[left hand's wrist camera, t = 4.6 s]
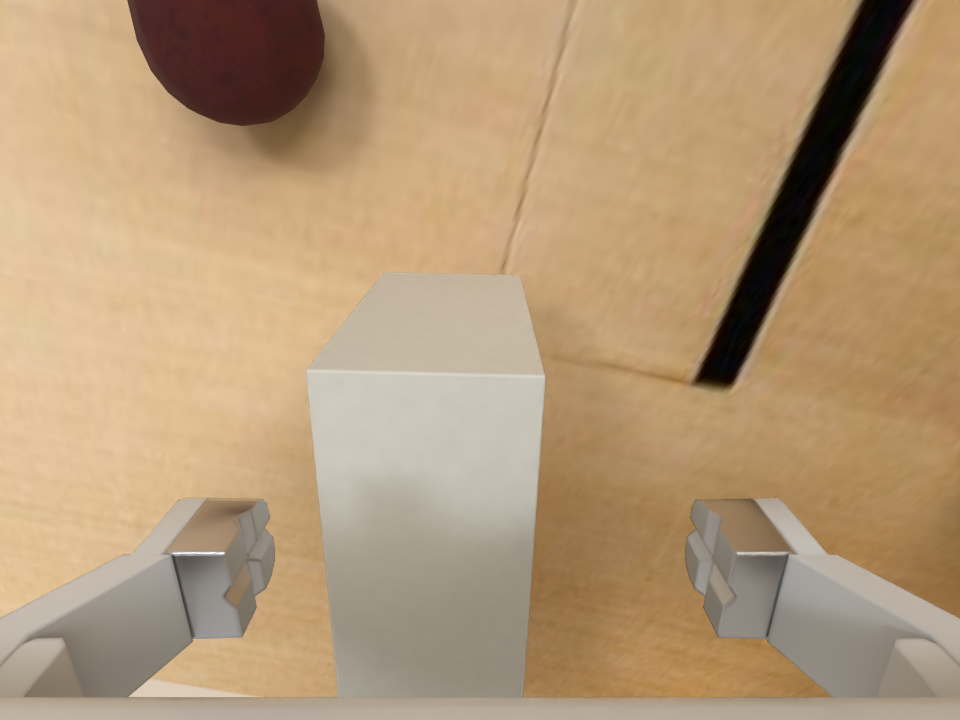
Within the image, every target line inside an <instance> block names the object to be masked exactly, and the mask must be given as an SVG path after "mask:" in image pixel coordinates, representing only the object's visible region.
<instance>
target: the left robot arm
mask: <svg viewBox="0 0 960 720" xmlns="http://www.w3.org/2000/svg"><path fill="white" fill-rule="evenodd" d="M269 519H270V516H269V511H268V506H267V503H266V502H265V501H264V500H263V499H241V498H183V499H181V500H178V501H177V502H176V504H175V505H174V506H173V507H172V508H171V509H170V511H169V512H168V513H167V514H166V515H165V516H164V518H163V519H162V520H161V521H160V522H159V523H158V525H157V526H156V527H155V528H154V529H153V530H152V532H151V533H150V534H149V535H148V536H147V537H146V539H145V540H144V541H143V542H142V543H141V544H140V546H139V547H138V548H137V549H136V550H135V551H134V553H133V554H123V555H121V556H119V557H117V558H115V559H114V560H112V561H110V562H108V563H106V564H104V565H102V566H100V567H98V568H96V569H94V570H92V571H90V572H88V573H86V574H85V575H83V576H81V577H79V578H77V579H75V580H73V581H71V582H69V583H67V584H65V585H63V586H61V587H59V588H57V589H55V590H54V591H52V592H50V593H48V594H46V595H44V596H42V597H40V598H38V599H36V600H34V601H32V602H30V603H28V604H26V605H25V606H23V607H21V608H19V609H17V610H15V611H13V612H11V613H9V614H7V615H5V616H3V617H1V618H0V720H960V618H958V617H956V616H954V615H953V614H951V613H949V612H947V611H945V610H943V609H941V608H939V607H937V606H935V605H933V604H931V603H929V602H927V601H926V600H924V599H922V598H920V597H918V596H916V595H914V594H912V593H910V592H908V591H906V590H904V589H902V588H900V587H899V586H897V585H895V584H893V583H891V582H889V581H887V580H885V579H883V578H881V577H879V576H877V575H875V574H873V573H872V572H870V571H868V570H866V569H864V568H862V567H860V566H858V565H856V564H854V563H852V562H850V561H848V560H846V559H845V558H843V557H841V556H839V555H837V554H827V553H826V551H825V550H824V549H823V548H822V547H821V546H820V544H819V543H818V542H817V541H816V540H815V539H814V537H813V536H812V535H811V534H810V533H809V532H808V530H807V529H806V528H805V527H804V526H803V525H802V523H801V522H800V521H799V520H798V519H797V518H796V516H795V515H794V514H793V513H792V512H791V511H790V509H789V508H788V507H787V506H786V505H785V504H784V502H783V501H782V500H780V499H778V498H776V497H773V498H749V499H702V500H695V502H694V504H693V506H692V510H691V515H690V519H691V520H692V522H693V524H694V526H695V528H696V529H695V530H694V531H693V532H692V533H691V534H690V535H689V536H688V537H687V540H686V548H685V558H686V568H687V571H688V575H689V578H690V580H691V583H692V585H693V587H694V589H696V590H697V591H698V592H700V593H701V594H703V595H704V596H705V601H704V607H703V608H704V610H705V612H706V614H707V616H708V618H709V620H710V622H711V624H712V626H713V628H714V630H715V632H716V634H717V636H718V637H720V638H756V639H767V642H769V643H770V644H771V645H772V646H773V647H774V648H776V649H777V650H778V651H779V652H780V653H781V654H783V655H784V656H785V657H786V658H787V659H788V660H790V661H791V662H792V663H793V664H794V665H795V666H797V667H798V668H799V669H800V670H801V671H802V672H804V673H805V674H806V675H807V676H808V677H809V678H811V679H812V680H813V681H814V682H815V683H816V684H818V685H819V686H820V687H821V688H822V689H823V690H825V691H826V692H827V693H828V694H829V695H830V696H832V697H198V698H197V697H129V696H130V695H131V694H132V693H133V692H134V691H136V690H137V689H138V688H139V687H140V686H141V685H143V684H144V683H145V682H146V681H147V680H148V679H150V678H151V677H152V676H153V675H154V674H155V673H157V672H158V671H159V670H160V669H161V668H162V667H164V666H165V665H166V664H167V663H168V662H169V661H171V660H172V659H173V658H174V657H175V656H176V655H178V654H179V653H180V652H181V651H182V650H183V649H185V648H186V647H187V646H188V645H189V644H191V643H192V642H193V639H204V638H238V637H242V636H243V634H244V632H245V630H246V628H247V626H248V624H249V622H250V620H251V618H252V616H253V614H254V612H255V610H256V608H257V607H256V601H255V596H256V595H257V594H259V593H260V592H262V591H263V590H264V589H266V587H267V585H268V582H269V580H270V578H271V575H272V571H273V566H274V561H275V546H274V540H273V537H272V536H271V535H270V534H269V533H268V532H267V531H266V530H265V529H264V528H265V526H266V524H267V522H268V520H269Z"/></svg>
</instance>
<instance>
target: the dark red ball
mask: <svg viewBox="0 0 960 720" xmlns="http://www.w3.org/2000/svg"><path fill="white" fill-rule="evenodd" d="M128 5H129V9H130V13H131V17H132V21H133V25H134V30H135V34H136V38H137V41H138V43H139V46H140V48H141V50H142V52H143V54H144V56H145V58H146V61H147V63H148V65H149V67H150V69H151V71H152V72H153V74H154V75H155V76H156V78H157V79H158V80H159V81H160V83H161V84H162V85H163V86H164V88H165V89H166V90H167V92H168V93H169V94H171V95H172V96H173V97H174V98H176V99H177V100H178V101H179V102H181V103H182V104H183V105H184V106H186V107H187V108H189V109H190V110H192V111H194V112H196V113H198V114H200V115H203V116H205V117H207V118H210V119H212V120H215V121H217V122H219V123H226V124H233V125H240V126H245V125H253V124H260V123H267V122H272V121H274V120H276V119H278V118H279V117H281V116H283V115H285V114H286V113H288V112H290V111H291V110H293V109H294V108H295V107H296V106H297V105H298V104H299V103H300V102H301V101H302V99H303V98H304V97H305V96H306V95H307V94H308V92H309V90H310V89H311V87H312V85H313V84H314V82H315V80H316V79H317V76H318V73H319V70H320V67H321V64H322V61H323V58H324V38H325V35H324V29H323V25H322V21H321V17H320V13H319V8H318V4H317V0H128Z"/></svg>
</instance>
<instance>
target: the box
mask: <svg viewBox="0 0 960 720" xmlns="http://www.w3.org/2000/svg"><path fill="white" fill-rule="evenodd" d="M306 379H307V388H308V398H309V408H310V418H311V428H312V438H313V448H314V458H315V468H316V478H317V488H318V498H319V508H320V518H321V528H322V538H323V548H324V558H325V568H326V578H327V588H328V598H329V608H330V617H331V627H332V637H333V647H334V657H335V667H336V677H337V687H338V697H523V694H524V680H525V666H526V652H527V638H528V623H529V609H530V595H531V581H532V567H533V553H534V539H535V525H536V511H537V497H538V482H539V468H540V454H541V440H542V426H543V412H544V398H545V384H546V376H545V372H544V368H543V364H542V360H541V356H540V352H539V348H538V344H537V340H536V336H535V332H534V328H533V324H532V320H531V316H530V312H529V308H528V304H527V300H526V296H525V292H524V288H523V284H522V280H521V276H519V275H486V274H445V273H403V272H384V273H383V274H382V275H381V276H380V278H379V279H378V280H377V281H376V283H375V284H374V285H373V286H372V288H371V289H370V290H369V292H368V293H367V294H366V295H365V297H364V298H363V299H362V300H361V302H360V303H359V304H358V305H357V307H356V308H355V309H354V310H353V312H352V313H351V314H350V315H349V317H348V318H347V319H346V320H345V322H344V323H343V324H342V325H341V327H340V328H339V329H338V331H337V332H336V333H335V334H334V336H333V337H332V338H331V339H330V341H329V342H328V343H327V344H326V346H325V347H324V348H323V349H322V351H321V352H320V353H319V354H318V356H317V357H316V358H315V359H314V361H313V362H312V363H311V365H310V366H309V367H308V368H307V370H306Z"/></svg>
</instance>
